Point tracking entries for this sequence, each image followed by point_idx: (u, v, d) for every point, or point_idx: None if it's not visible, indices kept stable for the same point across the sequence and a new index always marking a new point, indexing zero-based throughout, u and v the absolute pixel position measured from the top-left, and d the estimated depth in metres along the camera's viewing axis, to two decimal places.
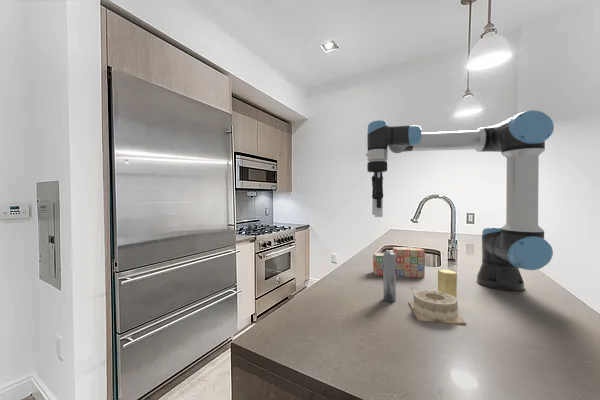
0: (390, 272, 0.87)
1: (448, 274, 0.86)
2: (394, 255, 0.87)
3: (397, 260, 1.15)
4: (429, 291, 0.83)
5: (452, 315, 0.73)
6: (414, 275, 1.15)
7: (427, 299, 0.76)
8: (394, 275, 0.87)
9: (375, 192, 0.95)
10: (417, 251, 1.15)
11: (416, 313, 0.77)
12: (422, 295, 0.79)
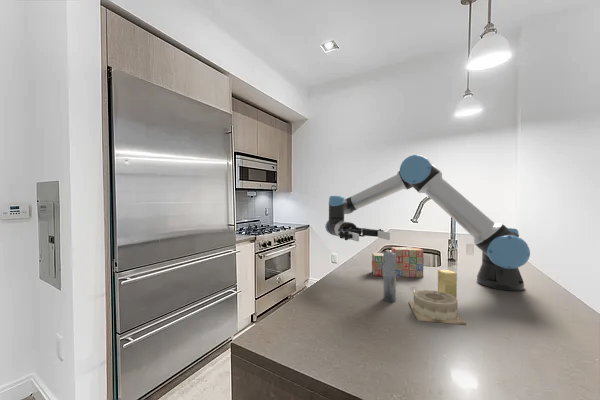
0: (390, 272, 0.87)
1: (448, 274, 0.86)
2: (394, 255, 0.87)
3: (396, 260, 1.15)
4: (429, 291, 0.83)
5: (452, 315, 0.73)
6: (413, 275, 1.15)
7: (427, 299, 0.76)
8: (394, 275, 0.87)
9: None
10: (416, 251, 1.15)
11: (416, 313, 0.77)
12: (422, 295, 0.79)
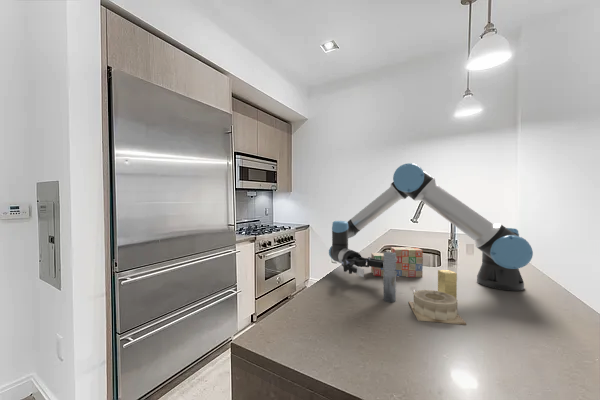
0: (390, 272, 0.87)
1: (448, 274, 0.86)
2: (394, 255, 0.87)
3: None
4: (429, 291, 0.83)
5: (452, 315, 0.73)
6: (412, 275, 1.15)
7: (427, 299, 0.76)
8: (394, 275, 0.87)
9: None
10: (415, 251, 1.15)
11: (416, 313, 0.77)
12: (422, 295, 0.79)
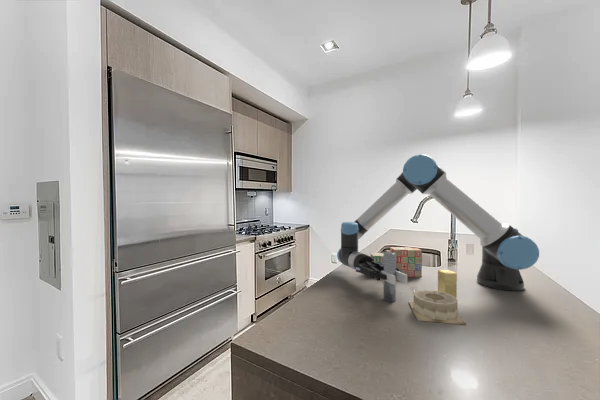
0: (390, 272, 0.87)
1: (448, 274, 0.86)
2: (394, 255, 0.87)
3: None
4: (429, 291, 0.83)
5: (452, 315, 0.73)
6: (411, 275, 1.15)
7: (427, 299, 0.76)
8: (394, 275, 0.87)
9: None
10: (414, 251, 1.15)
11: (416, 313, 0.77)
12: (422, 295, 0.79)
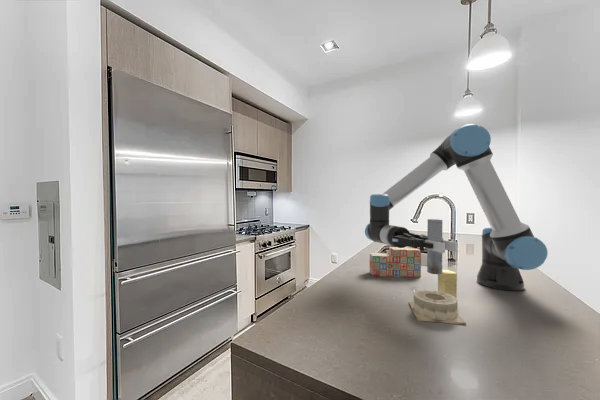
0: (437, 240, 0.76)
1: (448, 274, 0.86)
2: (441, 221, 0.77)
3: (393, 260, 1.15)
4: (429, 291, 0.83)
5: (452, 315, 0.73)
6: (410, 275, 1.15)
7: (427, 299, 0.76)
8: None
9: None
10: (413, 251, 1.15)
11: (416, 313, 0.77)
12: (422, 295, 0.79)
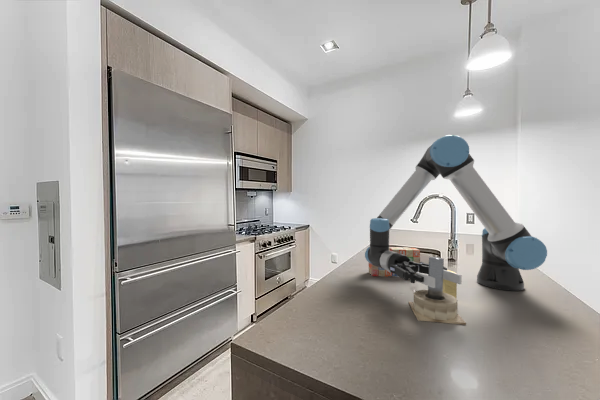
0: (437, 280, 0.77)
1: None
2: (442, 260, 0.77)
3: None
4: None
5: (452, 315, 0.73)
6: None
7: (427, 299, 0.76)
8: (442, 283, 0.77)
9: None
10: (412, 251, 1.15)
11: (416, 313, 0.77)
12: (422, 295, 0.79)
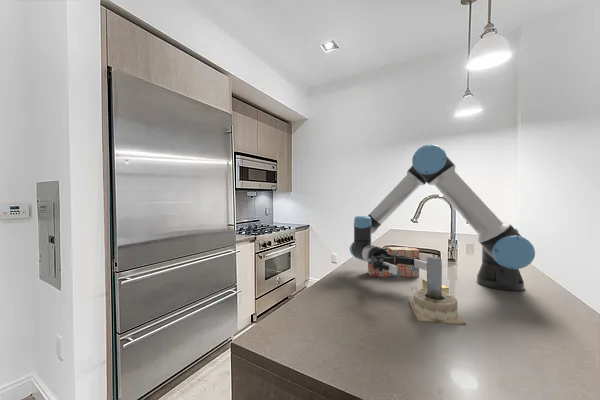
0: (436, 280, 0.77)
1: (425, 279, 0.99)
2: (440, 260, 0.77)
3: None
4: None
5: (452, 315, 0.73)
6: (409, 275, 1.15)
7: (427, 299, 0.76)
8: (441, 284, 0.77)
9: None
10: (412, 251, 1.15)
11: (416, 313, 0.77)
12: (422, 295, 0.79)
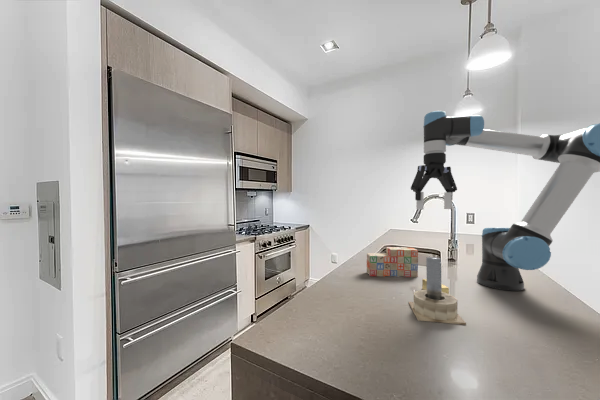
0: (436, 280, 0.77)
1: (425, 279, 0.99)
2: (439, 260, 0.77)
3: (391, 260, 1.15)
4: None
5: (452, 315, 0.73)
6: (407, 275, 1.15)
7: (427, 299, 0.76)
8: (440, 283, 0.77)
9: None
10: (410, 251, 1.15)
11: (416, 313, 0.77)
12: (422, 295, 0.79)
